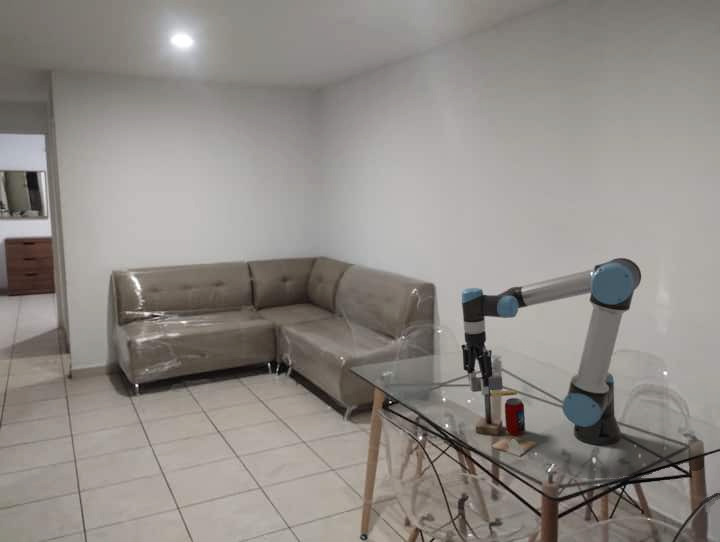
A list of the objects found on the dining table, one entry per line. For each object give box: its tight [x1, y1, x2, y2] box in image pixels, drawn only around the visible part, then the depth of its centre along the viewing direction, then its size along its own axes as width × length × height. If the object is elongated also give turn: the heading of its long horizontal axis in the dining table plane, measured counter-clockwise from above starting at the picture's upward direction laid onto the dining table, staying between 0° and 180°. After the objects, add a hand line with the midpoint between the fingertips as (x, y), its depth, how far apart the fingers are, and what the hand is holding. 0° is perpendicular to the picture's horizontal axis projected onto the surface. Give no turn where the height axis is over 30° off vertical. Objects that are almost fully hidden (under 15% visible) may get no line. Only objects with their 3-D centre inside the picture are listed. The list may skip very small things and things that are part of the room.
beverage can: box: [504, 397, 526, 436], centre depth 210 cm, size 7×7×12 cm
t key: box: [471, 375, 518, 424], centre depth 214 cm, size 16×2×17 cm, turn 90°
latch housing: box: [475, 417, 503, 436], centre depth 215 cm, size 8×8×2 cm
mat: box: [491, 434, 538, 453], centre depth 200 cm, size 11×11×1 cm
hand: (479, 391), depth 213 cm, fingers open, 5 cm apart
